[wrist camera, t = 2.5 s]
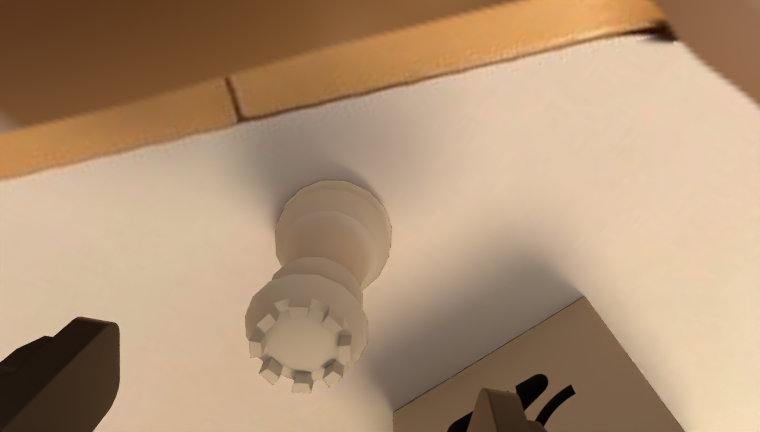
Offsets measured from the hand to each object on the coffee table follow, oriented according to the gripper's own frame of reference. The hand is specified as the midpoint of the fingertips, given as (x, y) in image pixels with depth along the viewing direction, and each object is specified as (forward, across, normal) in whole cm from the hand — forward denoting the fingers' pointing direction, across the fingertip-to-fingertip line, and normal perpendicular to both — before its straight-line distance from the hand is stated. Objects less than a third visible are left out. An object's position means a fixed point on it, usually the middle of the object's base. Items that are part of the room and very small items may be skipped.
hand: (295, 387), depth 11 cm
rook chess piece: (+10, 0, 0) cm, 10 cm away
